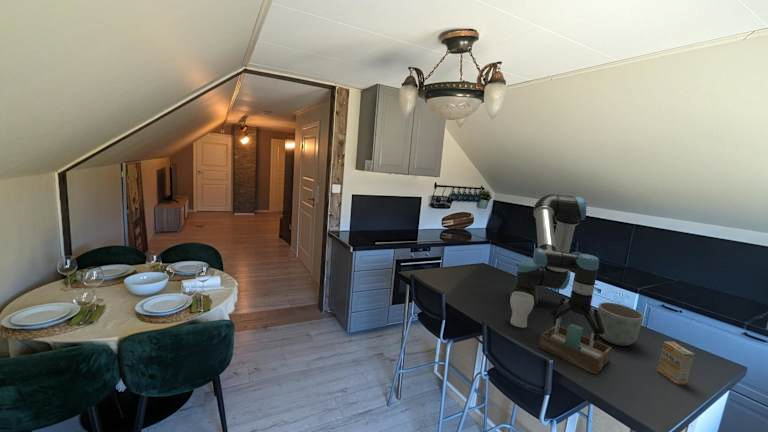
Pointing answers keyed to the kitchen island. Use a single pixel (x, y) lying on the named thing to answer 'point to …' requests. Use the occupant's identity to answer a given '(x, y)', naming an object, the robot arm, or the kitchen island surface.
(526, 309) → the cup
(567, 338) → the peg
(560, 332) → the crate
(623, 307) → the planter
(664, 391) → the kitchen island surface
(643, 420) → the kitchen island surface
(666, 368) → the supplement box
